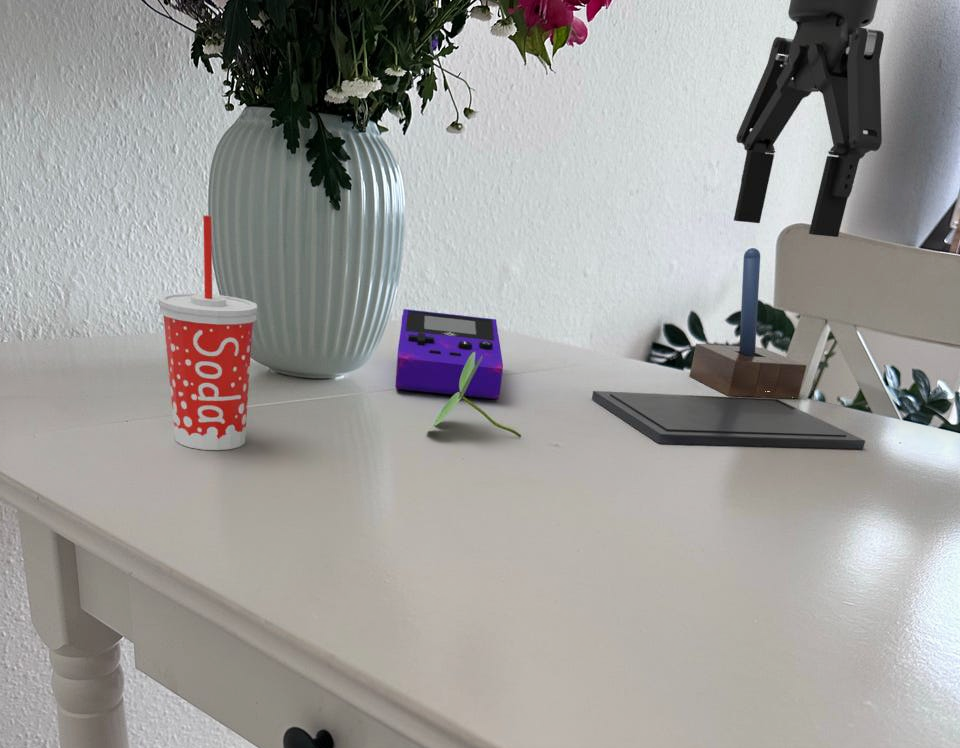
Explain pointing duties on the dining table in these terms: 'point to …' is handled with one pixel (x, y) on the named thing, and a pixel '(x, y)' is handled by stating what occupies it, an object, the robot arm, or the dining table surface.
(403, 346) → the handheld gaming console
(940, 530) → the dining table surface
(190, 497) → the dining table surface
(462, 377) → the seedling
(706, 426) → the tablet
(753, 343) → the stylus
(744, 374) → the pen stand
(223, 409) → the beverage cup
